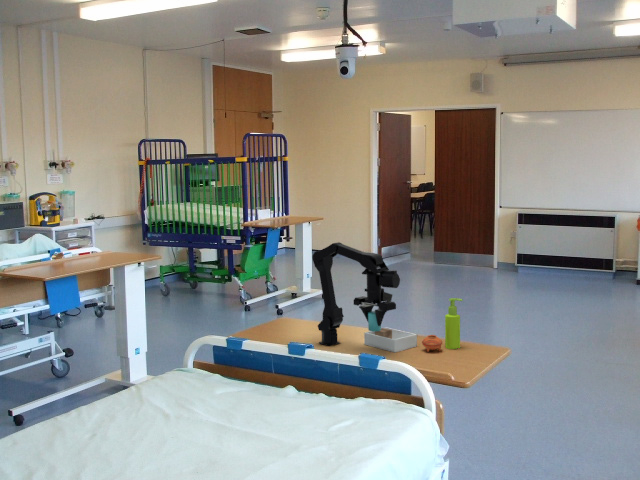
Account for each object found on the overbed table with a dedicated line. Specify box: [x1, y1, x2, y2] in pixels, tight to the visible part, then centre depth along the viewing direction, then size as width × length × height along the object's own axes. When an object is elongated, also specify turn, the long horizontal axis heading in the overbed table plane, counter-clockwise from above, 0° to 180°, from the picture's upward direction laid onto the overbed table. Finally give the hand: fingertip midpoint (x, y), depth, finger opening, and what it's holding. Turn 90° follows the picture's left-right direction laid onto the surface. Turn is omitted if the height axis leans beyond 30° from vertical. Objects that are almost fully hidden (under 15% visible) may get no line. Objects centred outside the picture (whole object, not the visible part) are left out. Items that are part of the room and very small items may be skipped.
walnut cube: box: [375, 327, 392, 339], centre depth 269 cm, size 5×5×5 cm
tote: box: [363, 327, 418, 353], centre depth 266 cm, size 17×13×5 cm
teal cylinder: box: [367, 310, 382, 332], centre depth 256 cm, size 5×5×7 cm
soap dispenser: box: [444, 297, 463, 350], centre depth 260 cm, size 6×7×20 cm
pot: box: [421, 334, 443, 353], centre depth 256 cm, size 8×8×7 cm
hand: (374, 324), depth 256 cm, fingers closed on teal cylinder, 5 cm apart
